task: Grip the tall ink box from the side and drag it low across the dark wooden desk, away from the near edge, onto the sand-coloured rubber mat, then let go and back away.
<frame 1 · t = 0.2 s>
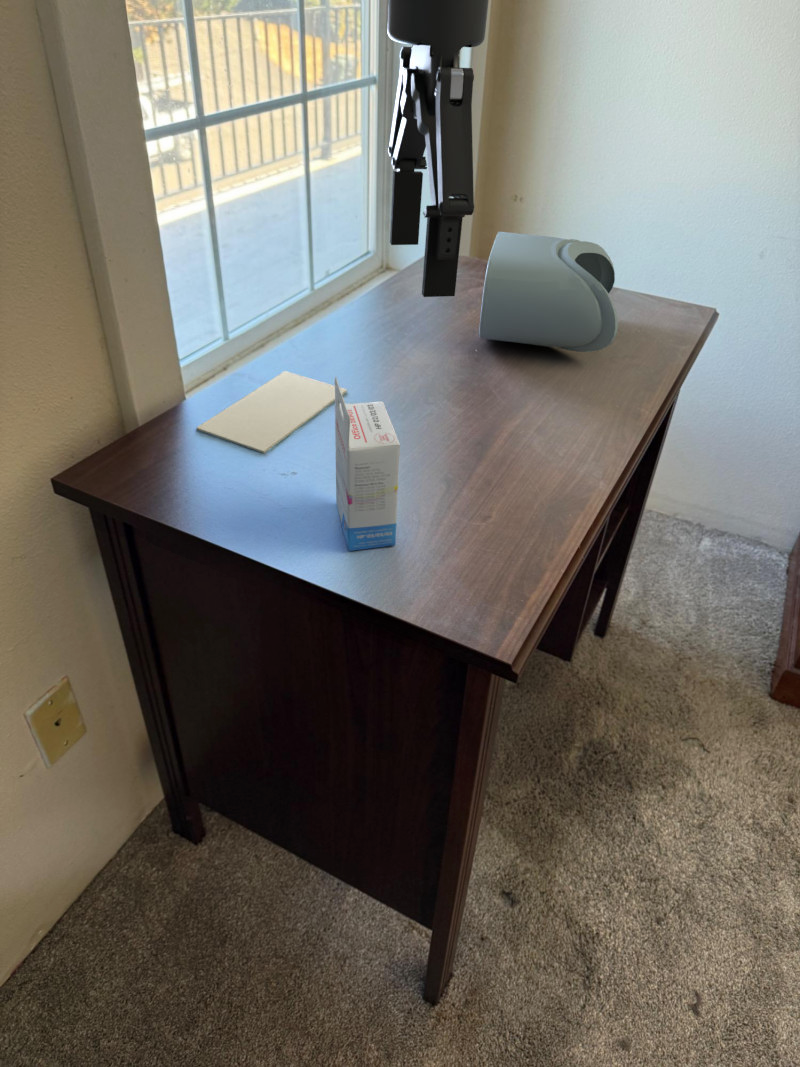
hand: (419, 267, 68), 23 cm above the table, tool pointing down, fingers open, 13 cm apart
ink box: (365, 525, 76), on the table
pencil case: (545, 334, 115), on the table
mat: (275, 409, 94), on the table
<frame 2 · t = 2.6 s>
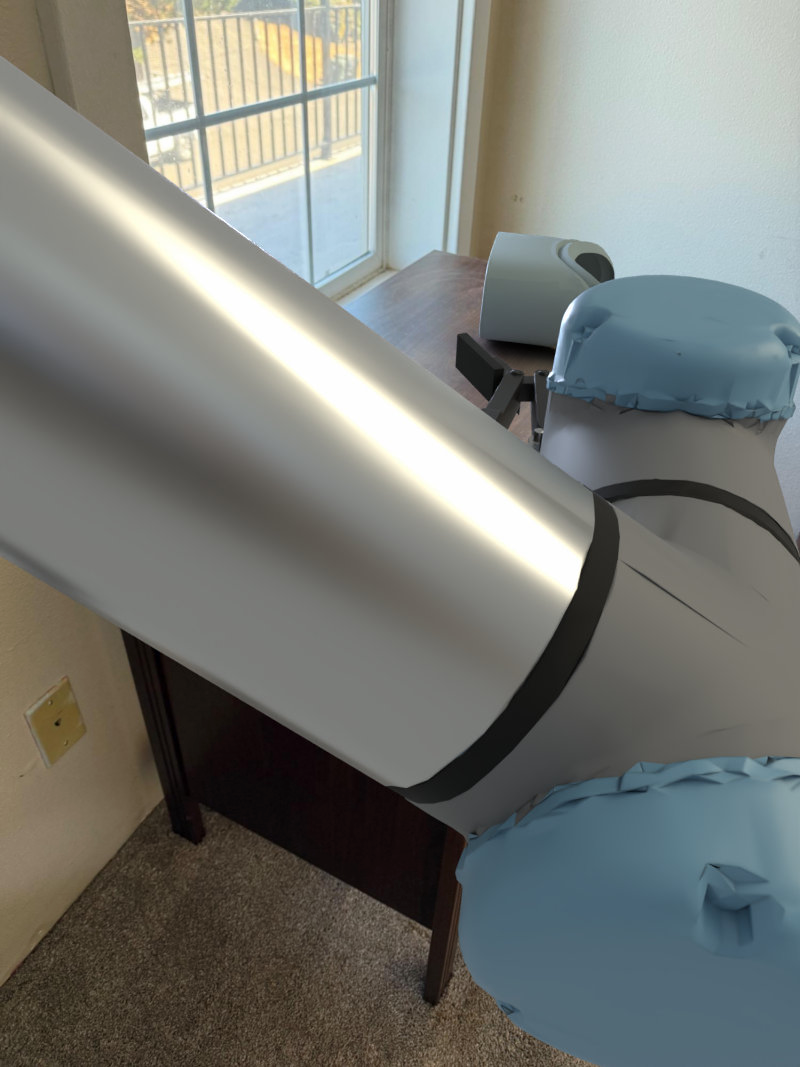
hand: (376, 361, 55), 22 cm above the table, tool horizontal, fingers open, 13 cm apart
nothing on the table moved.
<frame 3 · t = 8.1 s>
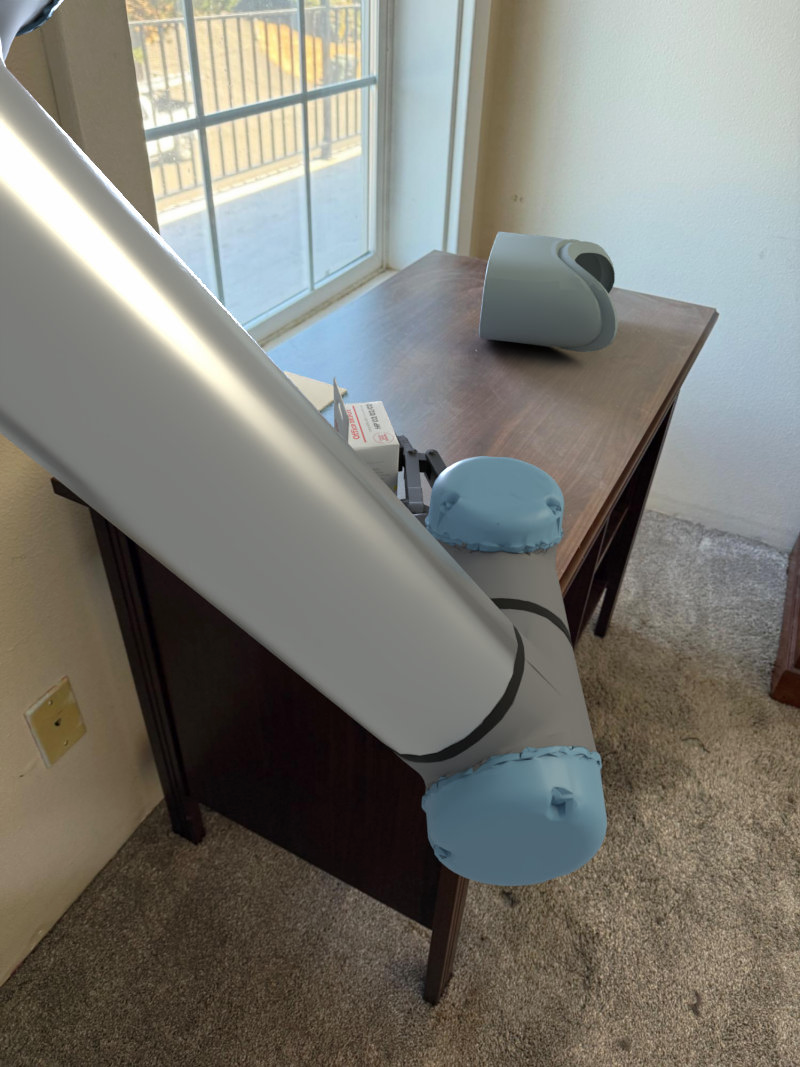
hand: (352, 429, 75), 8 cm above the table, tool horizontal, fingers closed on ink box, 5 cm apart
ink box: (364, 525, 76), on the table, touching gripper
everything else where it was.
when the fingers open (8 cm above the table, at t = 14.9 s): ink box stays where it is, resting on mat.
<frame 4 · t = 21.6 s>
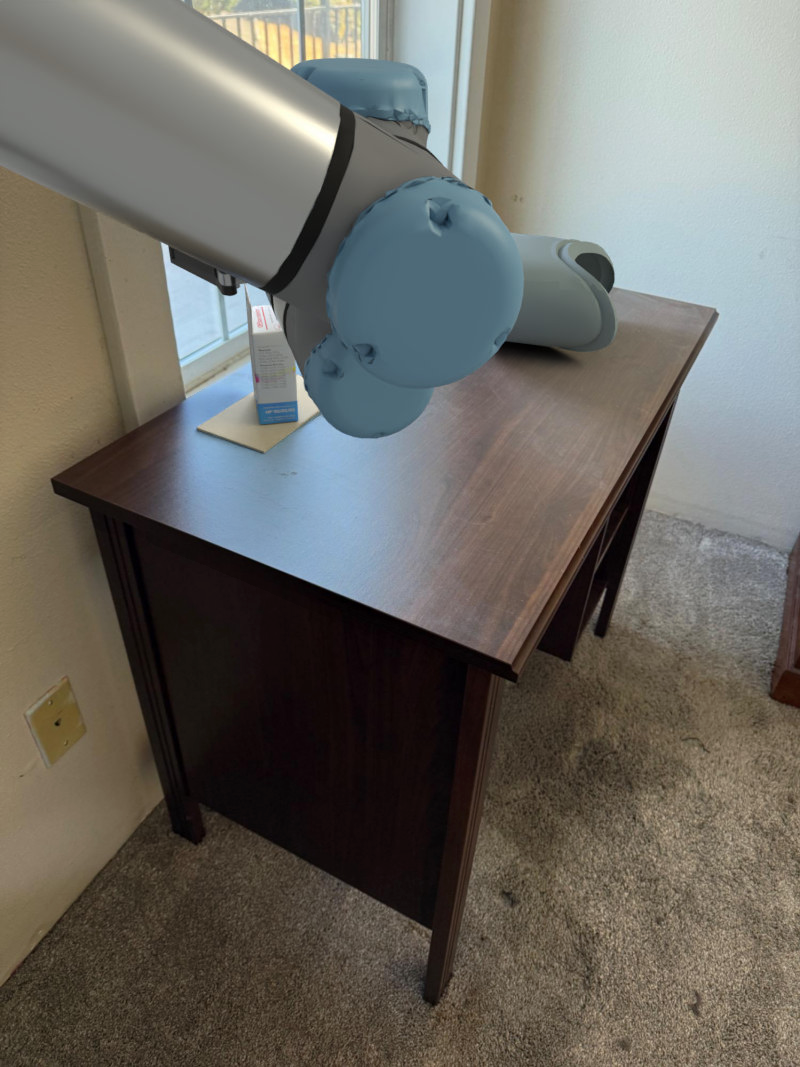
hand: (273, 214, 70), 26 cm above the table, tool horizontal, fingers open, 13 cm apart
ink box: (276, 408, 94), resting on mat
everything else where it was.
at the end: ink box inside the target area on the mat (0.1 cm from its centre), point 0.1 cm above the mat's base; ink box tilted 0°; the gripper is holding nothing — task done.
